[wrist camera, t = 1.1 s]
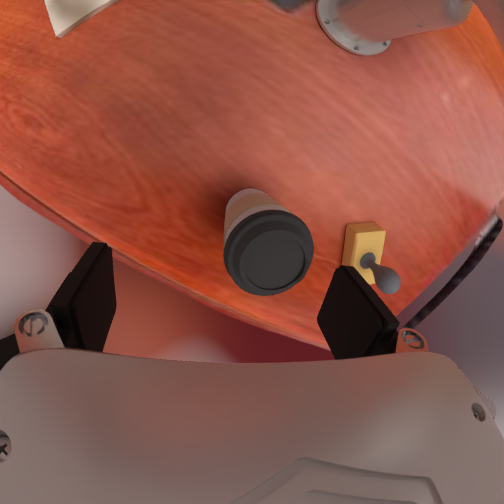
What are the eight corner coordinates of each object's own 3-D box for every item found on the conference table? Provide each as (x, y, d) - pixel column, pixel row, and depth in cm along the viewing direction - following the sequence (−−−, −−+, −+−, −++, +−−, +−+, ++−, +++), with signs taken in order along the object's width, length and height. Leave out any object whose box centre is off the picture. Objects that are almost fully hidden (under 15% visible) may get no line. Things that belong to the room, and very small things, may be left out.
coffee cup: (209, 233, 39) (214, 297, 26) (228, 172, 35) (244, 206, 22) (268, 248, 41) (299, 311, 28) (290, 191, 38) (337, 234, 25)
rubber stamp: (345, 223, 42) (387, 260, 31) (375, 221, 43) (419, 254, 32) (338, 277, 46) (371, 321, 36) (366, 273, 47) (402, 312, 37)
